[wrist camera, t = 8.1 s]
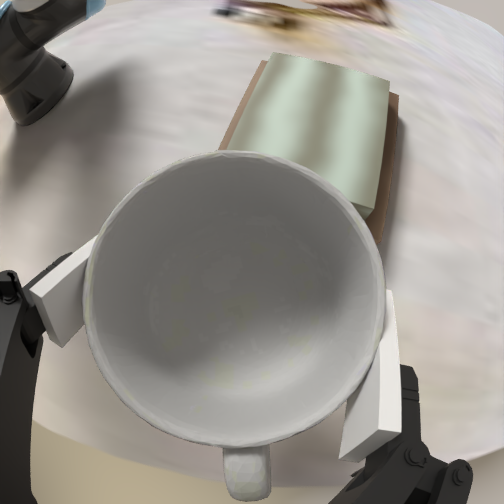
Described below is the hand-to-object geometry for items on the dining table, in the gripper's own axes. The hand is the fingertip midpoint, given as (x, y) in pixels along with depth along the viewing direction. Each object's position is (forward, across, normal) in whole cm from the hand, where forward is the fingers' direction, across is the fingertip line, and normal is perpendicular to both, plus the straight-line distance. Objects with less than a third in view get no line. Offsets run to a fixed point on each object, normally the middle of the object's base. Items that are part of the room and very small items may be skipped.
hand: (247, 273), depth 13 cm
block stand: (+24, 0, +2) cm, 24 cm away
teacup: (+1, 0, -5) cm, 5 cm away
